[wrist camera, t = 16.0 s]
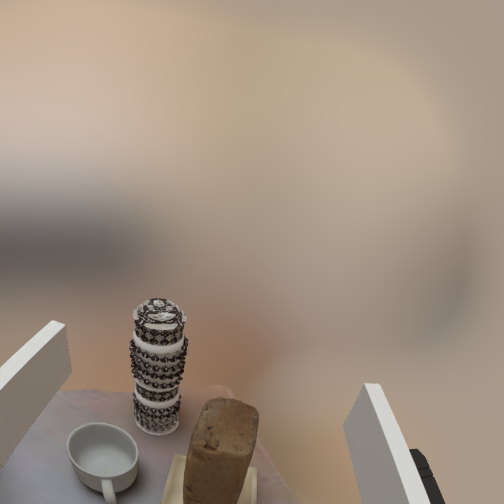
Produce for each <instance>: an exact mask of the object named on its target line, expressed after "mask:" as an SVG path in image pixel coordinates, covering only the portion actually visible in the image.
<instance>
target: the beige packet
mask: <svg viewBox="0 0 504 504" xmlns="http://www.w3.org/2000/svg"><path fill="white" fill-rule="evenodd" d="M186 458H187V456H183V455H179V454H174V457H173V460H172V464H171V467H170V471H169V475H168V478H167V482H166V486H165V489H164V493H163V497H162V501H161V504H183V480H184V470H185V464H186ZM256 499H257V468H256V467H248V471H247V475H246V478H245V481H244V485H243V488H242V491H241V494H240V496H239V499H238V502H237V504H256Z"/></svg>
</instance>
